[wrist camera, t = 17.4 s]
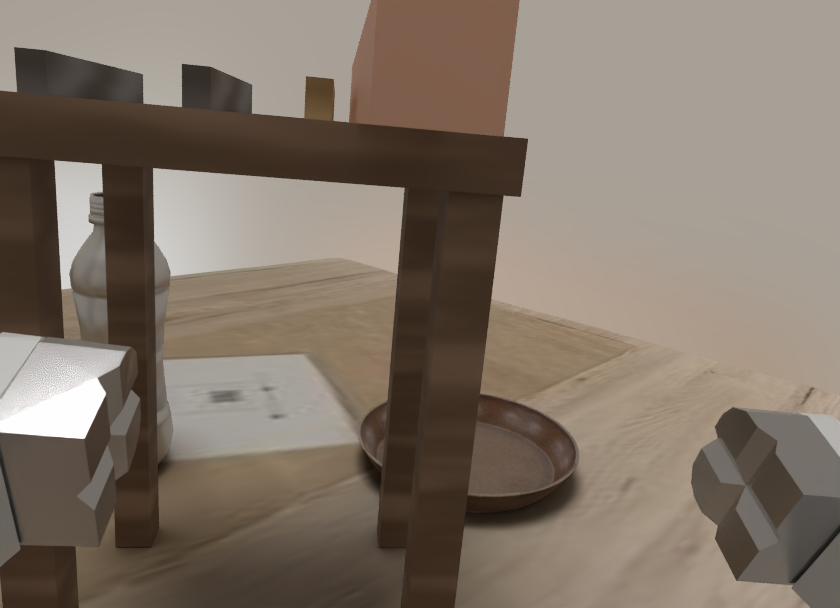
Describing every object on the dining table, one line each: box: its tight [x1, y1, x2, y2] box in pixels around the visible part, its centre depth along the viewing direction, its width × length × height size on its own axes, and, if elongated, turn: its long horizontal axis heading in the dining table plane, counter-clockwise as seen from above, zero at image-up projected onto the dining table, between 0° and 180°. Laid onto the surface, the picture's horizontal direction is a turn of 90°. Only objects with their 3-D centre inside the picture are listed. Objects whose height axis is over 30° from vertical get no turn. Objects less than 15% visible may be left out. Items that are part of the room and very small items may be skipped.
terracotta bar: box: [349, 0, 519, 136], centre depth 26 cm, size 24×3×3 cm, turn 7°
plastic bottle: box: [70, 192, 173, 464], centre depth 46 cm, size 6×7×20 cm
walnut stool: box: [0, 47, 528, 608], centre depth 32 cm, size 16×19×28 cm
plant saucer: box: [358, 394, 579, 513], centre depth 53 cm, size 18×18×3 cm
